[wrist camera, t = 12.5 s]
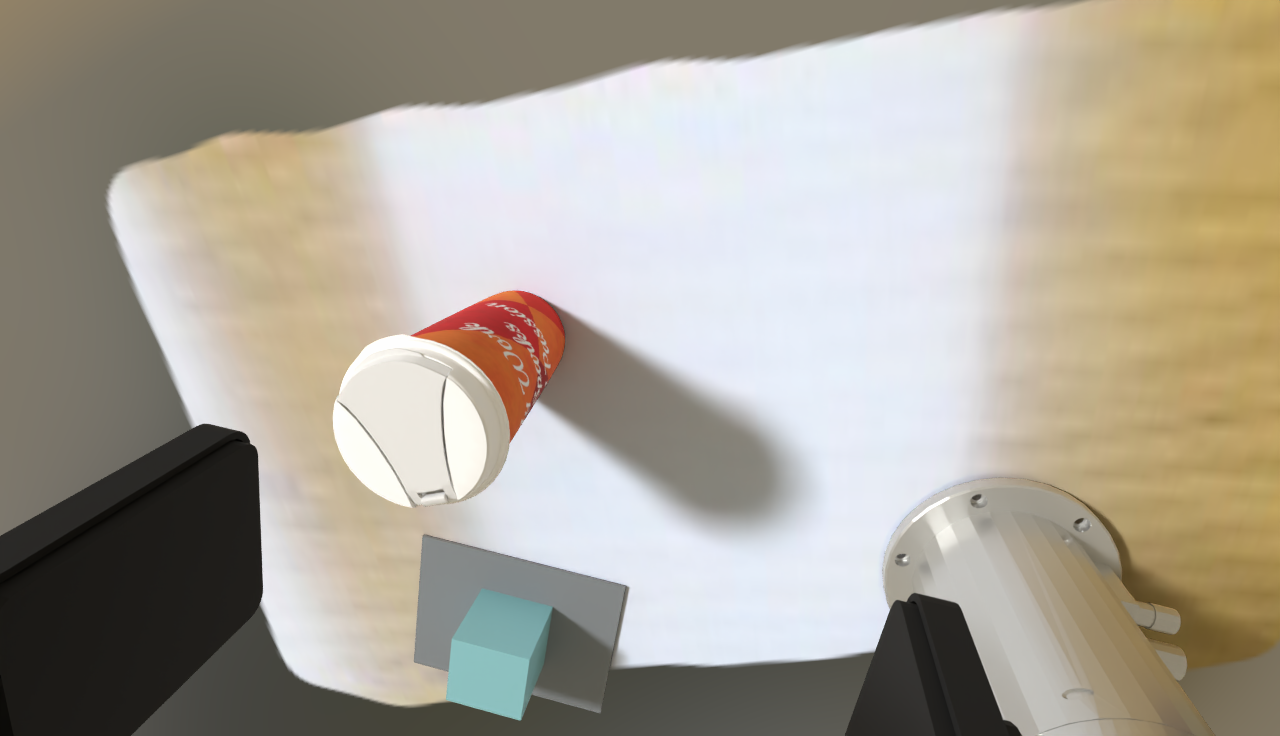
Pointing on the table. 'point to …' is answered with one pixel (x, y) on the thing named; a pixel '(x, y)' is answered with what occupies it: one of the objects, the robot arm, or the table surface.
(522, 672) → the teal block
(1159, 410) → the table surface
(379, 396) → the paper cup
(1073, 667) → the robot arm
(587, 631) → the slate mat
